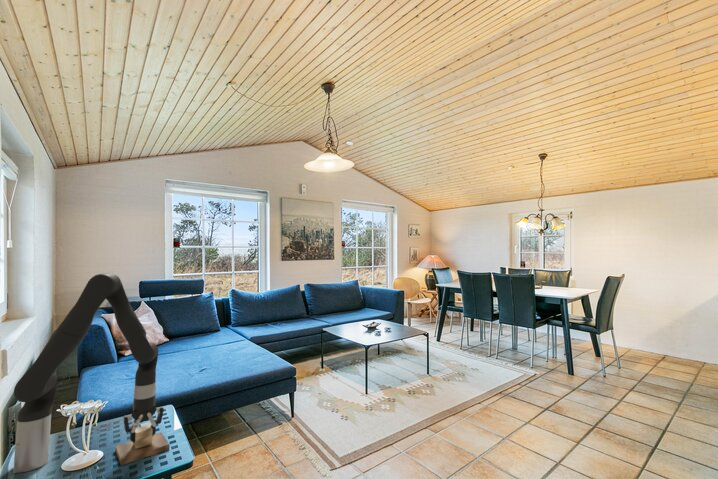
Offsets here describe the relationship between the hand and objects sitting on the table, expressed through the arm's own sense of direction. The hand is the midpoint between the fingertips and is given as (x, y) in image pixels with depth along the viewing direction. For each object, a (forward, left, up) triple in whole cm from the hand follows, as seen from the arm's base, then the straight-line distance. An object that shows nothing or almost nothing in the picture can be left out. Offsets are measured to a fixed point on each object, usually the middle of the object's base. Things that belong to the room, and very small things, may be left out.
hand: (142, 438), depth 136 cm
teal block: (+4, +13, -5) cm, 14 cm away
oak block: (0, 0, -2) cm, 2 cm away
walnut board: (0, 0, -5) cm, 5 cm away
